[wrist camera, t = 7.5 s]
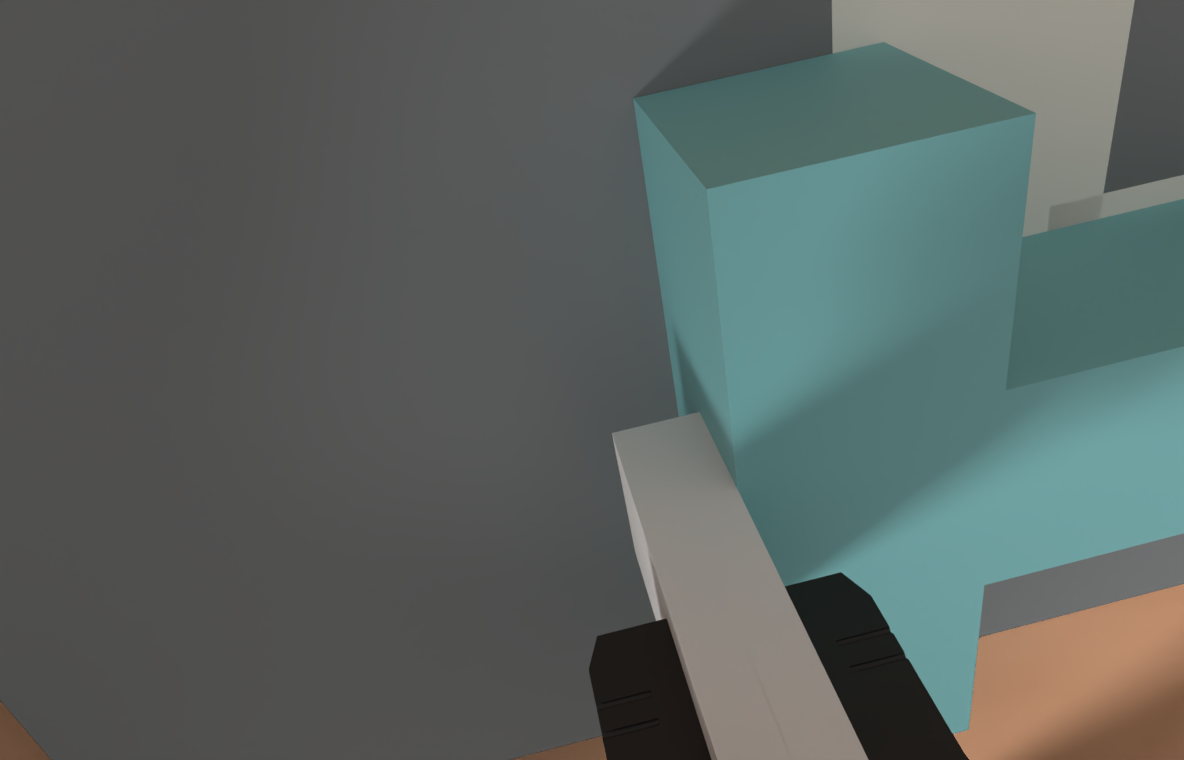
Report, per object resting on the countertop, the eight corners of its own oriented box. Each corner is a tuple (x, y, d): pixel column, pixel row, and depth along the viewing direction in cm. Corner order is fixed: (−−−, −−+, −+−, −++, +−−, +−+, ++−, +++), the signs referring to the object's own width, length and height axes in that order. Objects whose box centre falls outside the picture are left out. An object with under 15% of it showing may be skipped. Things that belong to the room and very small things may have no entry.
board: (1444, 505, 23) (1455, 512, 23) (138, 845, 21) (134, 858, 21) (1883, -393, 13) (1913, -398, 13) (-490, 99, 11) (-512, 105, 11)
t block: (1202, 496, 21) (1355, 625, 17) (708, 623, 20) (768, 783, 17) (1362, -66, 14) (1656, -31, 11) (632, 98, 14) (707, 188, 10)
